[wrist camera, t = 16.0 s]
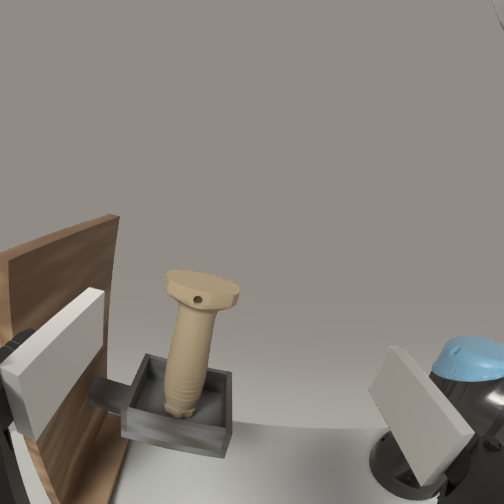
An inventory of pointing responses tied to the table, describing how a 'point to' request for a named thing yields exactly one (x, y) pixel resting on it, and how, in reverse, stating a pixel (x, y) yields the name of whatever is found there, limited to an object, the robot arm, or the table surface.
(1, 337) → the bracket
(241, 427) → the table surface
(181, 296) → the handle
